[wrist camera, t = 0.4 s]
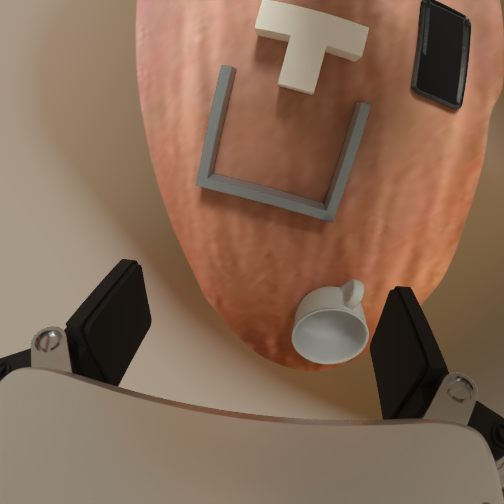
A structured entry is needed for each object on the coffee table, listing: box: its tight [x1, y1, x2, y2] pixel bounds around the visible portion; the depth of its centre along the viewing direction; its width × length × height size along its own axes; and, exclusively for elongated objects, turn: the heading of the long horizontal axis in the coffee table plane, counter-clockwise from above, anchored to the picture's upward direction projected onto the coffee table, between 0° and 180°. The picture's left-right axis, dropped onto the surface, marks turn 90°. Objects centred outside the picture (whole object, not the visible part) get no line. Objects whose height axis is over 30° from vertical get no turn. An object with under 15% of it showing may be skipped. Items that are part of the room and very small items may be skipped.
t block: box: [254, 0, 369, 95], centre depth 28 cm, size 10×12×4 cm
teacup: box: [291, 279, 369, 364], centre depth 42 cm, size 14×11×8 cm
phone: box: [411, 0, 471, 109], centre depth 26 cm, size 8×1×15 cm
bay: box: [196, 65, 371, 223], centre depth 34 cm, size 15×17×3 cm
